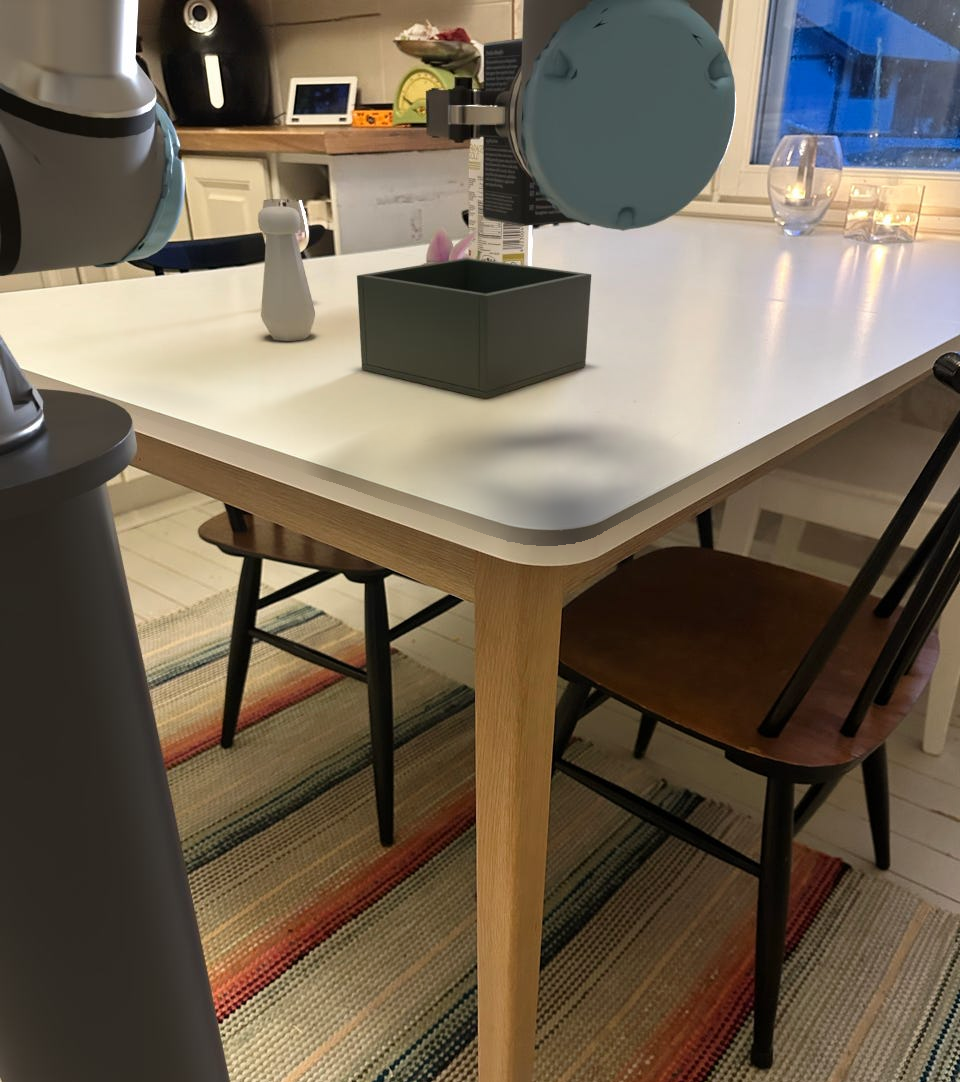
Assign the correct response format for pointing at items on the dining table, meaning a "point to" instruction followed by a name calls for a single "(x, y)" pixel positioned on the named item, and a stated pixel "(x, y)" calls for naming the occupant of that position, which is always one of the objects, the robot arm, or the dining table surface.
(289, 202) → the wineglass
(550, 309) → the open storage bin
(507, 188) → the box
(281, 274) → the salt shaker
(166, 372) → the dining table surface
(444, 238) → the lily
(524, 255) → the juice carton
